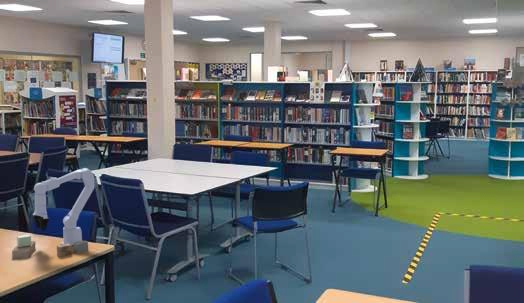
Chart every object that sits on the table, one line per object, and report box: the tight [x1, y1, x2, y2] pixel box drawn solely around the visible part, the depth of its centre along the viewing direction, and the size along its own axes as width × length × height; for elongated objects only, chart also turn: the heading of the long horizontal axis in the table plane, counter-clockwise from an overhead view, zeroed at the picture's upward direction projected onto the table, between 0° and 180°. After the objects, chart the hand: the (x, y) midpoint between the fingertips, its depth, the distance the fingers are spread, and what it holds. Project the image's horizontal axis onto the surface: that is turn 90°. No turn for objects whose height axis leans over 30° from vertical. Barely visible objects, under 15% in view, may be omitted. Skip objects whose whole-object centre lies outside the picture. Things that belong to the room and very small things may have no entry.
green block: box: [16, 234, 32, 247], centre depth 274 cm, size 6×4×5 cm, turn 127°
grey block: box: [73, 240, 89, 254], centre depth 278 cm, size 6×4×5 cm, turn 133°
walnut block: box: [56, 243, 72, 257], centre depth 273 cm, size 6×4×5 cm, turn 133°
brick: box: [11, 240, 36, 259], centre depth 275 cm, size 17×8×5 cm, turn 11°
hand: (41, 229), depth 283 cm, fingers open, 7 cm apart
